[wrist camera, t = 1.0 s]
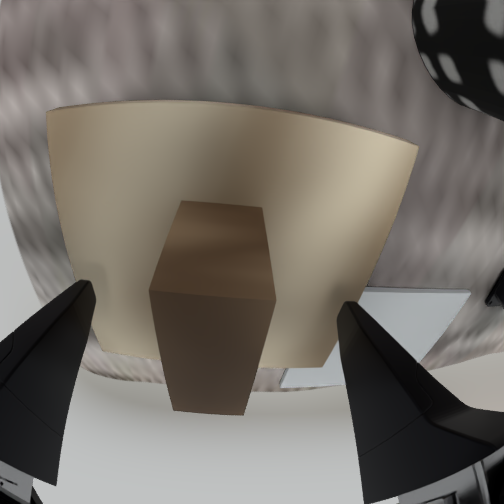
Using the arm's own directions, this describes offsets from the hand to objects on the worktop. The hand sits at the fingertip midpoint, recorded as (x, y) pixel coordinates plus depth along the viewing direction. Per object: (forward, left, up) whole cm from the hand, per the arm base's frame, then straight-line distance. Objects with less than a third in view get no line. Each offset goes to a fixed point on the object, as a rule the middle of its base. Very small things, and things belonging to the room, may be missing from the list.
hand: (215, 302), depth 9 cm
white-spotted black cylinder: (-12, -13, -7) cm, 19 cm away
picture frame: (-14, +11, -6) cm, 19 cm away
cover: (0, 0, -2) cm, 2 cm away
